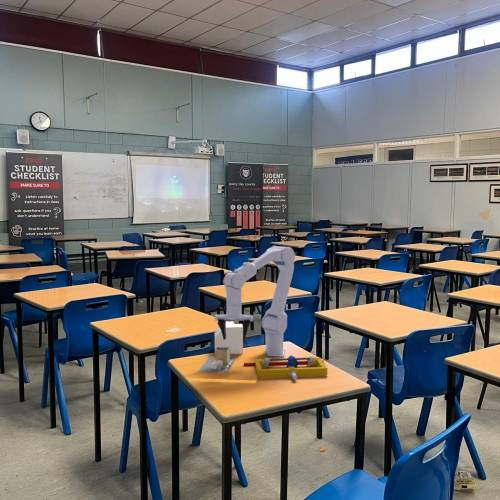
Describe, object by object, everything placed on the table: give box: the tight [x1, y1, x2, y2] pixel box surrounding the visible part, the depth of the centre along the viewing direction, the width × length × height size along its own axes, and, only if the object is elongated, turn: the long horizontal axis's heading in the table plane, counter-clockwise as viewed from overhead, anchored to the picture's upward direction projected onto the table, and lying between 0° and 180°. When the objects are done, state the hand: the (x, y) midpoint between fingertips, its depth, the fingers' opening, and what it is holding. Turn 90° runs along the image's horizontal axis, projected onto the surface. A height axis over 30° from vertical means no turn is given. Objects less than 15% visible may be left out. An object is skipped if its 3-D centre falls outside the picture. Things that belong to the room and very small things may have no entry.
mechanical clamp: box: [243, 354, 328, 381], centre depth 184 cm, size 18×6×30 cm
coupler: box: [214, 347, 231, 367], centre depth 191 cm, size 4×4×6 cm
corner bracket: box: [214, 321, 244, 355], centre depth 211 cm, size 11×11×12 cm
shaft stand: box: [197, 350, 237, 374], centre depth 192 cm, size 19×11×4 cm, turn 172°
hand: (234, 339), depth 196 cm, fingers open, 7 cm apart
